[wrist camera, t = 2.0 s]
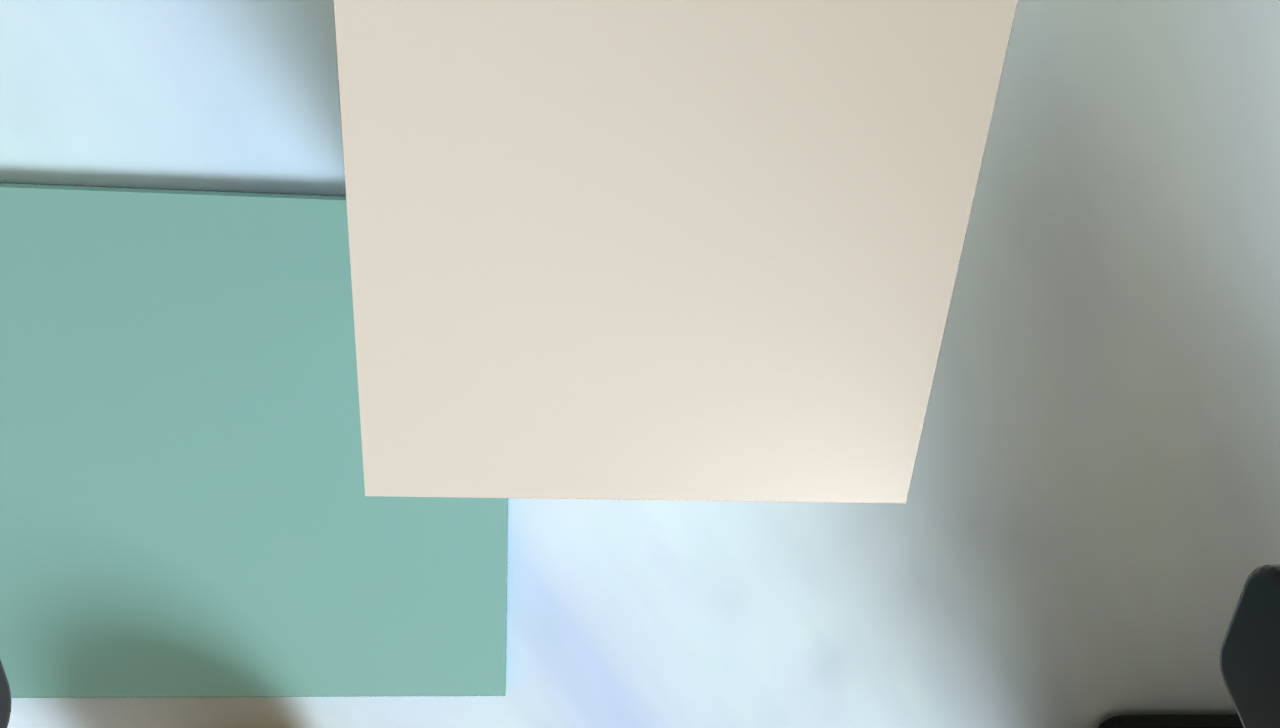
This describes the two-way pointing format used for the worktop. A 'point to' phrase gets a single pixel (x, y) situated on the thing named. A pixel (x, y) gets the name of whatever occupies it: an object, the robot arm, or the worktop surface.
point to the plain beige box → (657, 240)
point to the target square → (213, 465)
